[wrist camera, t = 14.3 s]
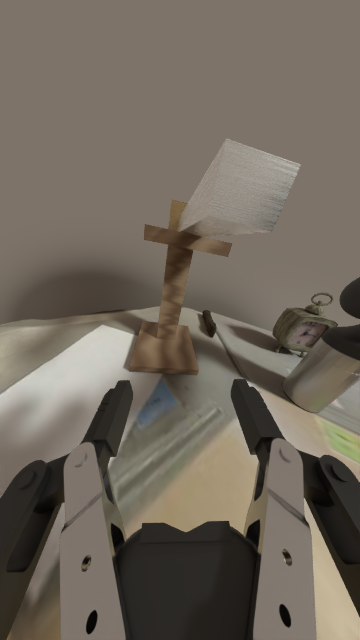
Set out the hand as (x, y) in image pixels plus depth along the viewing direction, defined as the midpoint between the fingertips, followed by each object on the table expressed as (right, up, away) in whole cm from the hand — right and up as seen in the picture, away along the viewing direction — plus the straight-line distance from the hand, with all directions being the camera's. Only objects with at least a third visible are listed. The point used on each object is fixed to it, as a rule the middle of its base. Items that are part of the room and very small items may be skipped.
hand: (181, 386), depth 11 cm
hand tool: (+13, +2, +53) cm, 55 cm away
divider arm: (+2, +18, +10) cm, 21 cm away
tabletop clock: (+44, -8, +47) cm, 65 cm away
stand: (-5, -4, +36) cm, 36 cm away
